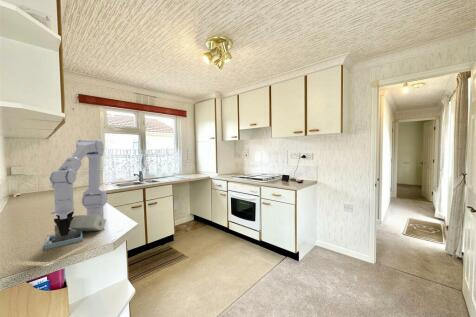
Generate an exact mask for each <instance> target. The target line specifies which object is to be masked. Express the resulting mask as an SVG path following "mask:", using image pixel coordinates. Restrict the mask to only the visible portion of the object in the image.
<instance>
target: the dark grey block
mask: <svg viewBox="0 0 476 317" xmlns="http://www.w3.org/2000/svg"><path fill="white" fill-rule="evenodd" d="M74 238H75V235H74V229H70V228H69V233H68V235H66V236H61V235H60V232H56V239H53V240H51V243H55V242H60V241H64V240H69V239H74Z"/></svg>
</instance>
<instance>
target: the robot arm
mask: <svg viewBox="0 0 476 317" xmlns="http://www.w3.org/2000/svg"><path fill="white" fill-rule="evenodd" d="M102 156H104V143H103V141H102V140H101V139H78V140H77V141H76V142H75V151H74V153H73V154H72V155H71V156H70V157H67V158H65V160H64V162H63V163H62V164H61V166H59V168H58V169H56V170H54V171H52V172H51V173H50V176H49V182H50V184H51V188H52V189H53V190H54V191H53V192H54V194H53V196H54V199H53V200H54V211H53V210H52V211H50V215H56V218H54V219H53V222H54V224H55V225H57V226H58V229H59V232H60V235H61V236H66V235H68V233H69V229H70V224H71V221H72V219H73V216H74V213H75V207H74V183H75V182H76V180H77V175H78V171H79V169H80V168H81V166H82V163H83V162H82V161H83V159H84V158H85V157H87V158H88V188H87V189H86V190H84V191H83V193H82V198H81V204H82V206H83V207H84V208H85V210H86V211H85V212H86V215H99V216H101V217H102V218H104V213H105V212H104V206H105V205H106V204H107V202H108V196H107V190H105V189H104V188H102V187H101V157H102ZM104 219H105V218H104Z"/></svg>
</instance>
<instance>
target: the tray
mask: <svg viewBox="0 0 476 317" xmlns="http://www.w3.org/2000/svg"><path fill="white" fill-rule="evenodd" d="M77 235H80V236H79V237H74V239H69V240H64V241H60V242H55V243H52V242H51V243H50V241H52V240H53V239H56V235H52V236H48V238H47V240H45V242H44V245H43V248H44V250H49V249H53V248H57V247H63V246H66V245H71V244H74V243H80V242H83V241H84V240H83V239H84V238H83V231H82V230H78V231H74V236H77Z"/></svg>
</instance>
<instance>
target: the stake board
mask: <svg viewBox="0 0 476 317" xmlns="http://www.w3.org/2000/svg"><path fill="white" fill-rule="evenodd" d="M74 231H75V230H74ZM56 232H59V229H58V226H57V225H56V224H55V225H54V232H51V233H47V235H46V237H45V239H44V241H46V240H47V238H48V236H52V235H56Z"/></svg>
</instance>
